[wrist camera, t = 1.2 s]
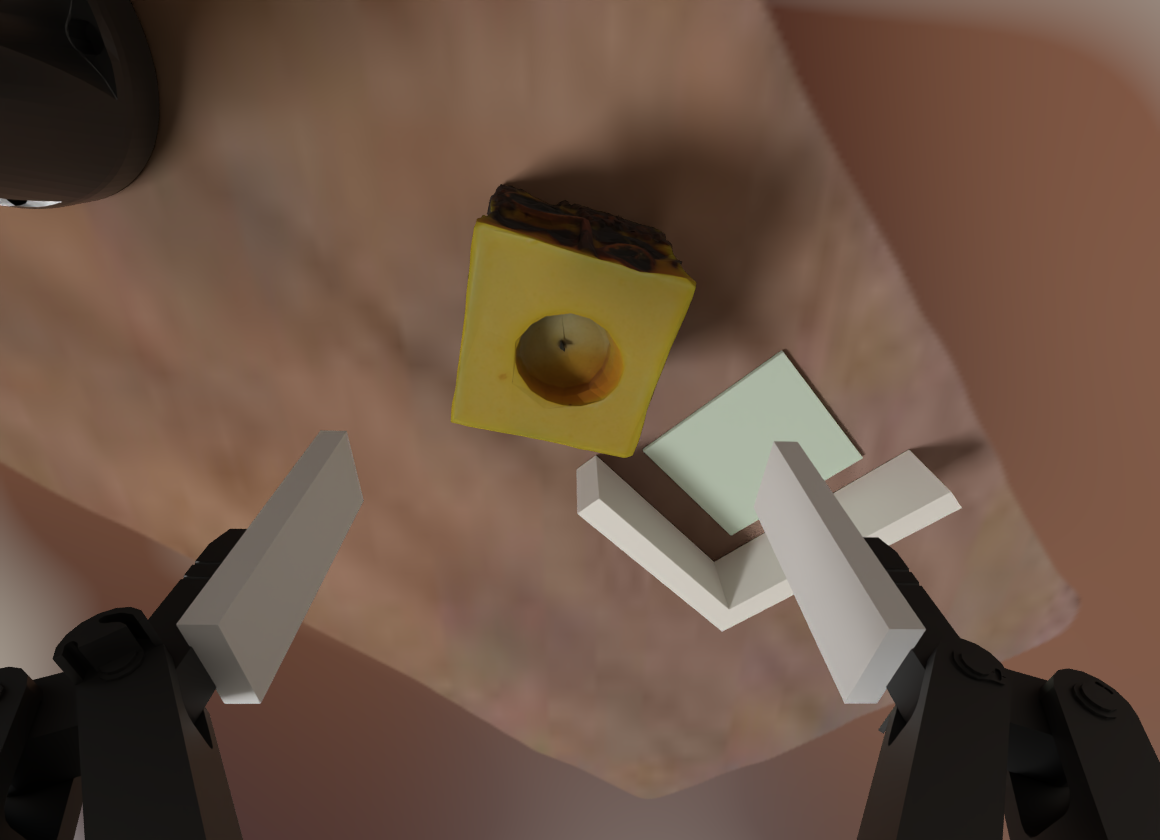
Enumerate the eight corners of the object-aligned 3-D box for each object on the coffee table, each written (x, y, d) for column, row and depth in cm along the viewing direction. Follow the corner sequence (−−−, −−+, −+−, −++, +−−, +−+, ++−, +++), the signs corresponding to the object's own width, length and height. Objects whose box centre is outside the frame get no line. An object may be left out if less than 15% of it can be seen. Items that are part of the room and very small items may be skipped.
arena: (576, 469, 39) (577, 513, 35) (807, 299, 32) (842, 329, 28) (708, 583, 46) (722, 631, 42) (919, 464, 39) (961, 507, 35)
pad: (642, 449, 38) (643, 451, 38) (781, 350, 34) (783, 352, 34) (730, 533, 43) (731, 535, 43) (860, 455, 39) (862, 457, 39)
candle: (498, 180, 28) (467, 211, 20) (667, 227, 30) (706, 274, 21) (472, 343, 33) (439, 423, 25) (617, 376, 35) (633, 462, 26)
